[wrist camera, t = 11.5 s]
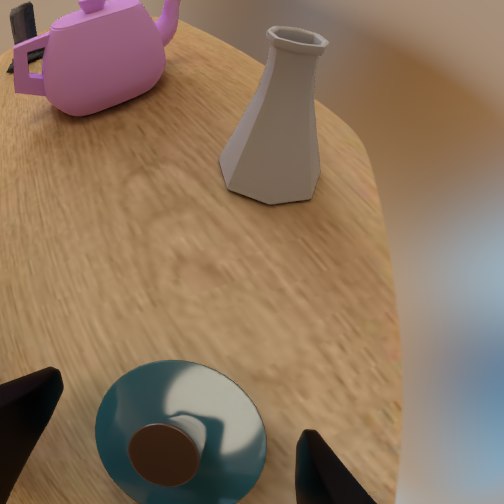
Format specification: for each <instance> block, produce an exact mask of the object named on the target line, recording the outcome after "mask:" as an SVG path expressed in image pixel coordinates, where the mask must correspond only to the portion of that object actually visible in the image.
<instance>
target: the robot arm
mask: <svg viewBox="0 0 504 504" xmlns="http://www.w3.org/2000/svg"><path fill="white" fill-rule="evenodd" d="M63 389H64V385H63V381H62V377H61V373H60V371H59V370H58V369H56V368H54V367H47V368H45V369H42V370H39V371H37V372H34V373H31V374H28V375H26V376H23V377H20V378H18V379H15V380H12V381H9V382H6V383H4V384H1V385H0V504H6V502H7V500H8V498H9V496H10V493H11V491H12V489H13V487H14V485H15V483H16V481H17V479H18V477H19V475H20V473H21V471H22V469H23V467H24V465H25V463H26V462H27V460H28V458H29V456H30V454H31V452H32V450H33V449H34V447H35V445H36V443H37V441H38V440H39V438H40V436H41V434H42V433H43V431H44V429H45V427H46V426H47V424H48V422H49V420H50V418H51V416H52V414H53V412H54V410H55V407H56V405H57V403H58V401H59V399H60V396H61V394H62V392H63ZM295 490H296V501H297V504H377V503H376V502H375V501H374V500H373V499H372V498H371V496H370V495H368V493H367V492H366V491H365V490H364V488H363V487H362V486H361V485H360V484H359V483H358V481H357V480H356V479H355V478H354V477H353V475H352V474H351V473H350V472H349V471H348V469H347V468H346V467H345V466H344V465H343V463H342V462H341V461H340V460H339V458H338V457H337V456H336V455H335V453H334V452H333V451H332V450H331V448H330V447H329V446H328V445H327V443H326V442H325V441H324V440H323V438H322V437H321V436H320V434H319V433H318V432H317V431H316V430H310V429H305V430H304V431H303V432H302V434H301V436H300V438H299V440H298V442H297V446H296V468H295Z"/></svg>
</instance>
